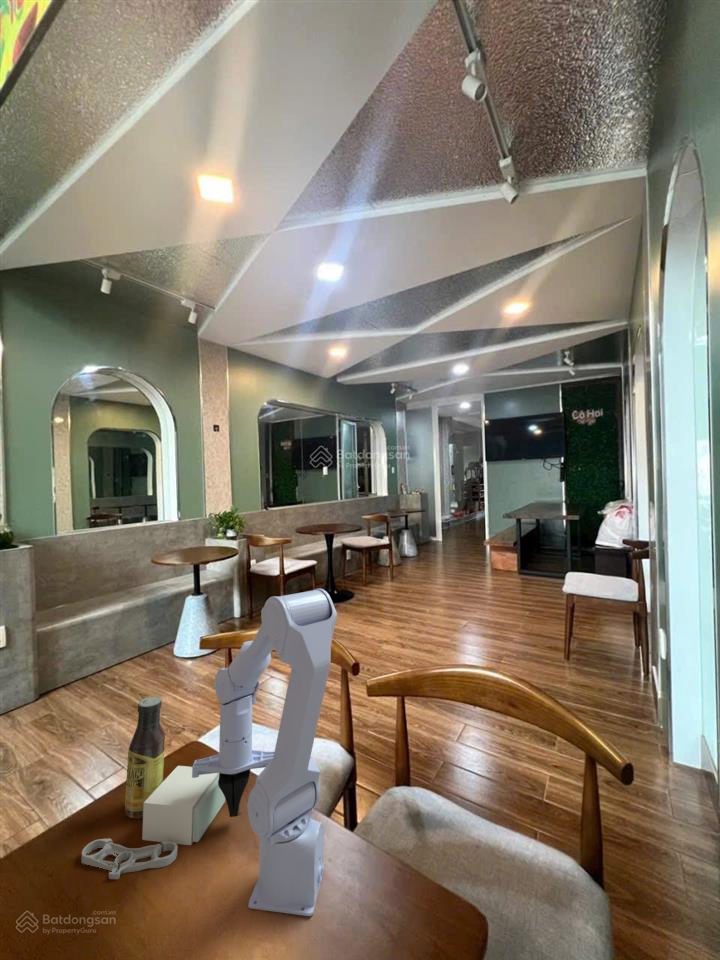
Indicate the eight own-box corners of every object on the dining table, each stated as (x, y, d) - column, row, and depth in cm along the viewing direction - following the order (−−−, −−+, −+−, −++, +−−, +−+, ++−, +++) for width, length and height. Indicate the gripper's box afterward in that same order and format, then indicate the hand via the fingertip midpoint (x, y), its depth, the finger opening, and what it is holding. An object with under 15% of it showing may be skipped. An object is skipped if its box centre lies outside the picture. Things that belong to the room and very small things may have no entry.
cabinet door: (227, 798, 76) (228, 770, 76) (198, 842, 66) (199, 809, 66) (222, 797, 76) (222, 769, 77) (192, 841, 66) (192, 808, 66)
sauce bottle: (117, 812, 73) (122, 702, 75) (150, 792, 78) (154, 690, 80) (136, 827, 69) (141, 711, 71) (169, 805, 75) (173, 698, 76)
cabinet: (219, 801, 75) (220, 769, 76) (190, 845, 66) (191, 807, 66) (176, 797, 77) (177, 765, 77) (142, 839, 67) (143, 802, 67)
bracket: (115, 821, 69) (182, 842, 64) (115, 832, 69) (181, 854, 64) (72, 856, 62) (143, 882, 57) (72, 869, 62) (143, 896, 57)
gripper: (277, 718, 76) (276, 791, 75) (199, 725, 74) (197, 801, 73) (275, 738, 69) (274, 819, 68) (189, 747, 67) (187, 831, 66)
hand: (234, 812), depth 70 cm, fingers closed
